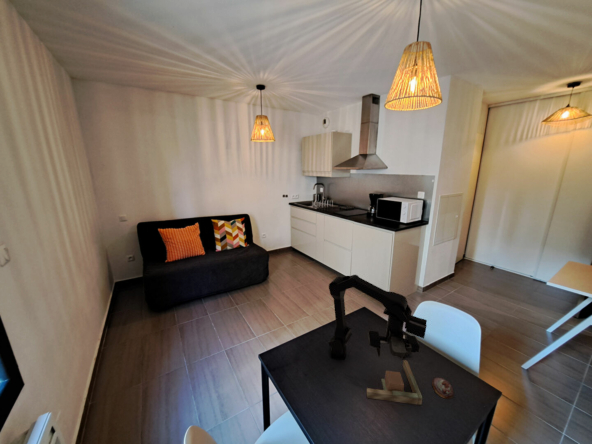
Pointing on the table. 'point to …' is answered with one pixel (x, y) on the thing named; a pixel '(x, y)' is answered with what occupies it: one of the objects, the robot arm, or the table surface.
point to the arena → (398, 395)
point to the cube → (394, 381)
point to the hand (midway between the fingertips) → (390, 357)
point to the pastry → (443, 388)
